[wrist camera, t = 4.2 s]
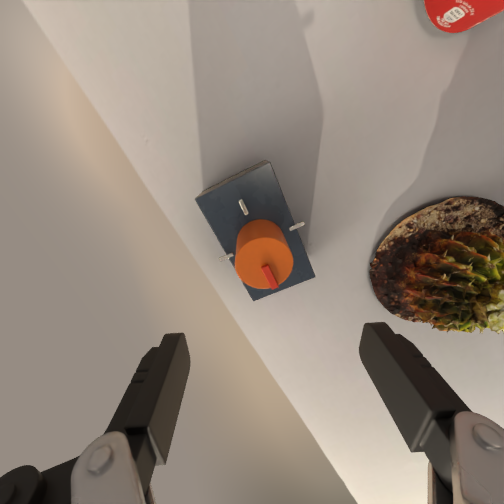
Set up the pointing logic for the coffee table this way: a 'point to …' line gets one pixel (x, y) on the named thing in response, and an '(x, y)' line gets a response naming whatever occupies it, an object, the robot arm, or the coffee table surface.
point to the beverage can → (461, 13)
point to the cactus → (445, 266)
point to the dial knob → (262, 255)
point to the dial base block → (254, 218)
